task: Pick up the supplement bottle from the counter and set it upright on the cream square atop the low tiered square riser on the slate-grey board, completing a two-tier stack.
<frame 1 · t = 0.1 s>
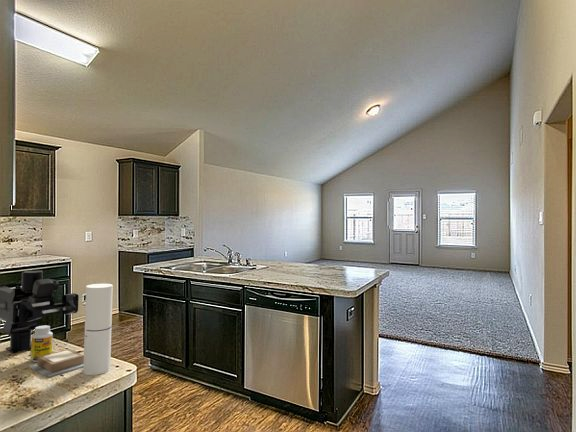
hand: (59, 312, 114), 17 cm above the counter, tool horizontal, fingers open, 9 cm apart
tiered square riser: (60, 366, 115), on the counter
cylindrical container: (96, 370, 113), on the counter
supplement bottle: (41, 360, 120), on the counter
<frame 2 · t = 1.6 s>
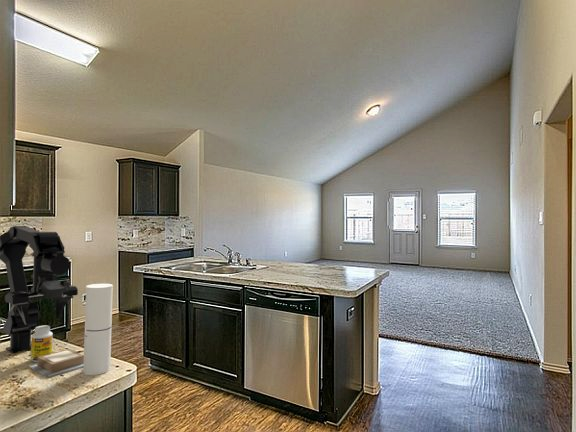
hand: (42, 321, 120), 12 cm above the counter, tool pointing down, fingers open, 9 cm apart
nothing on the counter moved.
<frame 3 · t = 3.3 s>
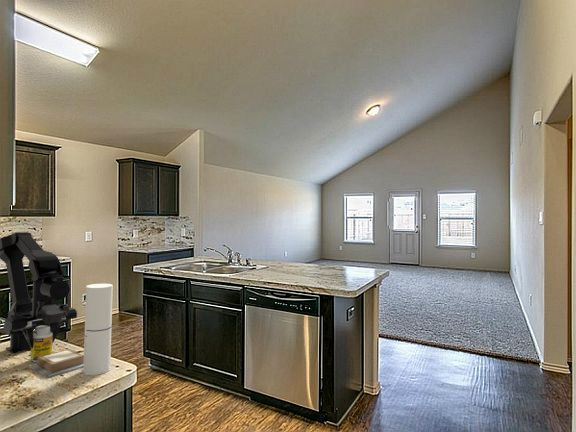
hand: (41, 345, 120), 5 cm above the counter, tool pointing down, fingers closed on supplement bottle, 6 cm apart
supplement bottle: (41, 360, 120), on the counter, touching gripper
everything else where it was.
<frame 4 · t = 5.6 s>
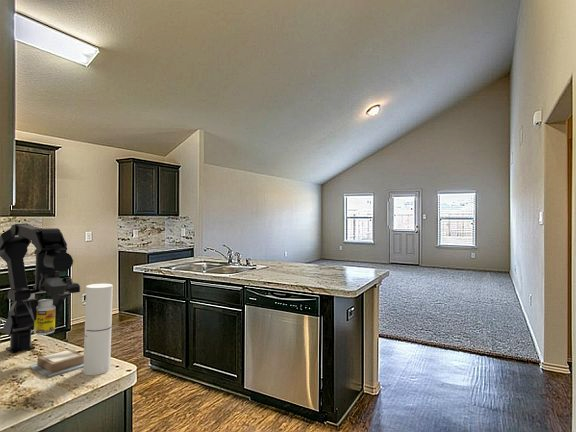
hand: (44, 318, 119), 13 cm above the counter, tool pointing down, fingers closed on supplement bottle, 5 cm apart
supplement bottle: (44, 333, 119), point 8 cm above the counter, touching gripper
everything else where it was.
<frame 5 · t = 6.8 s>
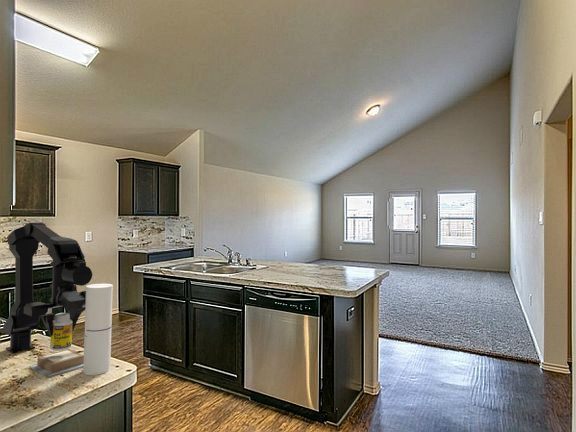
hand: (61, 333, 115), 10 cm above the counter, tool pointing down, fingers closed on supplement bottle, 5 cm apart
supplement bottle: (60, 348, 115), point 5 cm above the counter, touching gripper
everything else where it was.
when the fingers open (9 cm above the counter, at t = 7.8 s): supplement bottle drops 1 cm, resting on tiered square riser.
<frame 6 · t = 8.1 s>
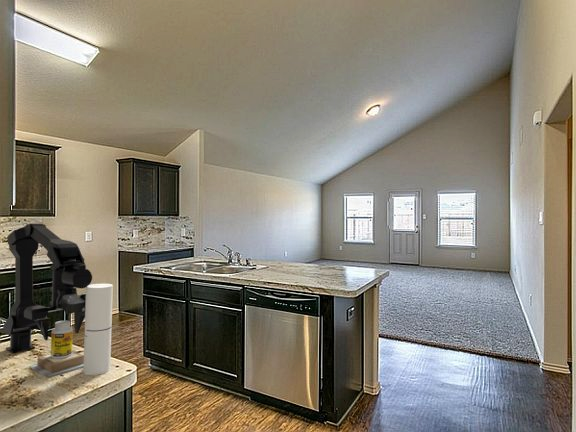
hand: (61, 336, 115), 9 cm above the counter, tool pointing down, fingers open, 8 cm apart
cylindrical container: (96, 370, 113), on the counter, touching arm
supplement bottle: (61, 356, 115), point 3 cm above the counter, touching tiered square riser
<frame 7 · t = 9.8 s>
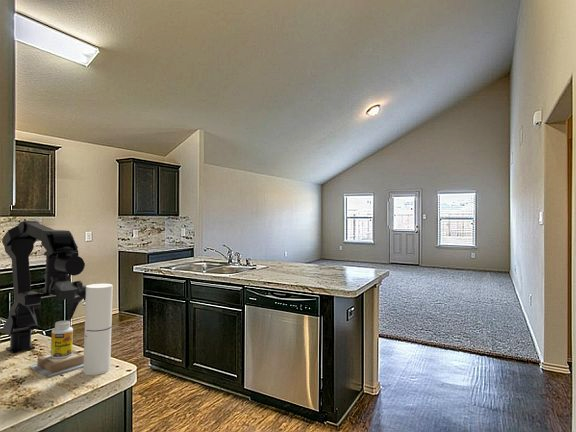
hand: (54, 322, 117), 13 cm above the counter, tool pointing down, fingers open, 9 cm apart
cylindrical container: (96, 370, 113), on the counter
everything else where it was.
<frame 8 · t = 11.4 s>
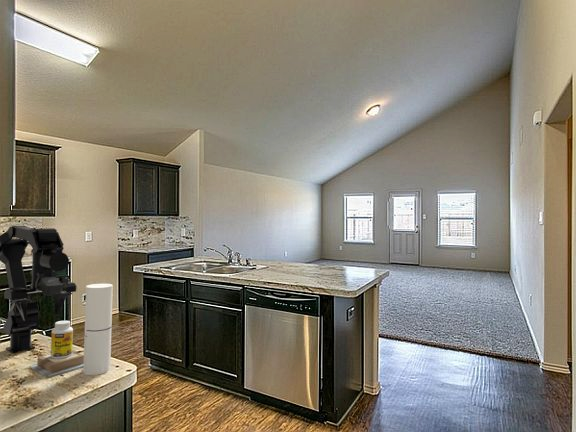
hand: (41, 317, 120), 13 cm above the counter, tool pointing down, fingers open, 9 cm apart
nothing on the counter moved.
at the end: supplement bottle 0.2 cm off-centre on the tiered square riser, point 2.9 cm above the tiered square riser's base; supplement bottle tilted 0°; the gripper is holding nothing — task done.
